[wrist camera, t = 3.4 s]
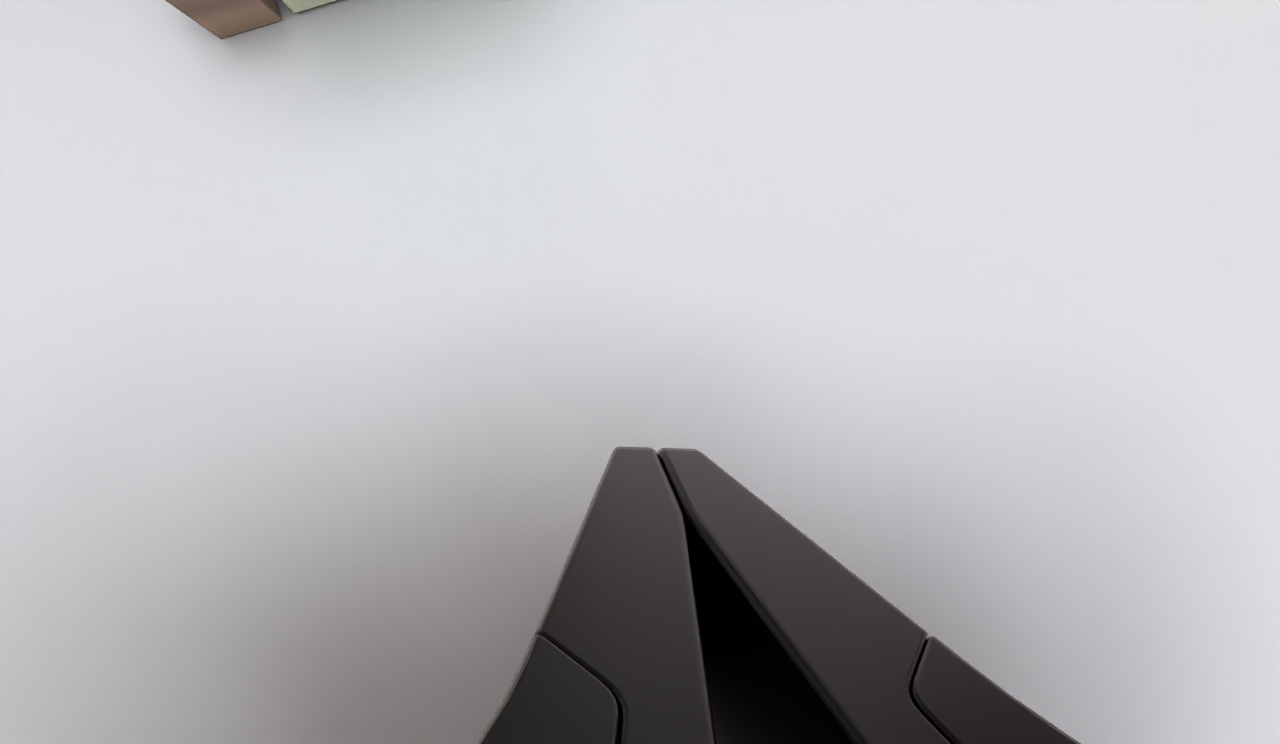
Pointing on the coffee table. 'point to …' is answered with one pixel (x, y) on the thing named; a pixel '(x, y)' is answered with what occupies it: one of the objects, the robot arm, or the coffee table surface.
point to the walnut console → (229, 14)
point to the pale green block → (304, 4)
